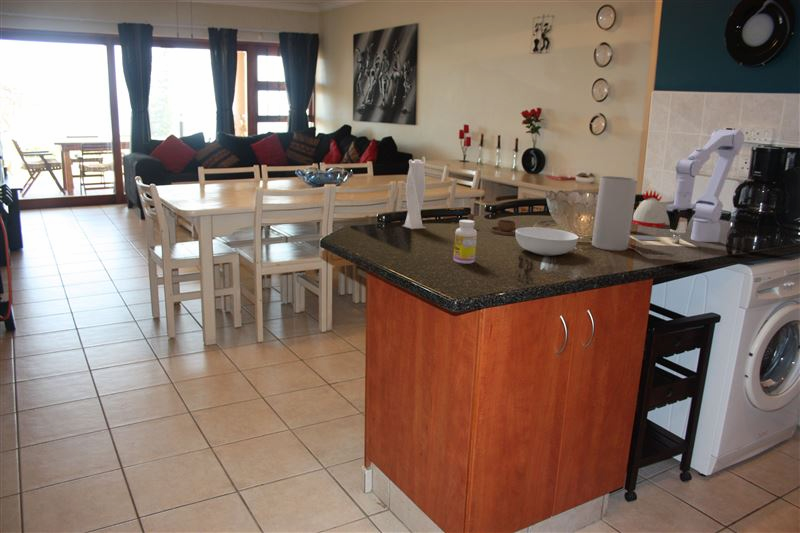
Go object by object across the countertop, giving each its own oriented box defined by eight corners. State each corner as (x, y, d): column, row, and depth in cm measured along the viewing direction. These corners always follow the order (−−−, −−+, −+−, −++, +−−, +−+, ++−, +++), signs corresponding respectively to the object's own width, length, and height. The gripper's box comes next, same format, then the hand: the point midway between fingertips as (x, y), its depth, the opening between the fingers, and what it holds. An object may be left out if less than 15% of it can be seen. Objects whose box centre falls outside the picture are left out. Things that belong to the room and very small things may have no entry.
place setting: (500, 238, 239) (502, 223, 238) (463, 228, 254) (465, 214, 253) (531, 234, 250) (533, 219, 248) (494, 225, 265) (495, 211, 263)
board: (677, 241, 249) (678, 237, 249) (697, 250, 234) (697, 246, 233) (627, 239, 248) (627, 235, 248) (643, 248, 233) (644, 244, 232)
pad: (651, 237, 247) (651, 236, 247) (660, 241, 240) (660, 240, 240) (631, 236, 247) (631, 235, 247) (639, 240, 239) (639, 239, 239)
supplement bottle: (451, 258, 202) (454, 218, 199) (472, 259, 203) (475, 219, 199) (455, 263, 196) (458, 222, 192) (476, 264, 196) (479, 223, 193)
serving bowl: (564, 263, 204) (567, 242, 202) (504, 252, 214) (506, 232, 213) (583, 252, 221) (586, 233, 219) (526, 243, 232) (528, 224, 230)
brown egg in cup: (681, 230, 239) (683, 217, 238) (687, 233, 234) (689, 219, 233) (668, 230, 239) (670, 216, 238) (674, 232, 234) (676, 219, 233)
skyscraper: (428, 229, 248) (433, 156, 241) (411, 230, 243) (416, 156, 236) (416, 225, 254) (420, 154, 247) (399, 226, 250) (403, 154, 243)
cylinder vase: (611, 252, 223) (621, 181, 217) (584, 245, 233) (593, 176, 227) (634, 249, 230) (645, 180, 223) (607, 242, 240) (616, 176, 233)
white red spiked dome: (629, 220, 294) (633, 187, 290) (660, 222, 292) (665, 189, 288) (635, 225, 280) (640, 191, 276) (668, 228, 279) (673, 193, 275)
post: (677, 242, 239) (678, 233, 238) (680, 244, 237) (681, 234, 236) (671, 242, 239) (672, 233, 238) (673, 243, 237) (675, 234, 236)
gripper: (681, 195, 226) (675, 232, 230) (705, 193, 234) (699, 230, 237) (664, 192, 232) (658, 228, 235) (688, 190, 239) (682, 226, 243)
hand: (678, 229), depth 237 cm, fingers closed on brown egg in cup, 5 cm apart
